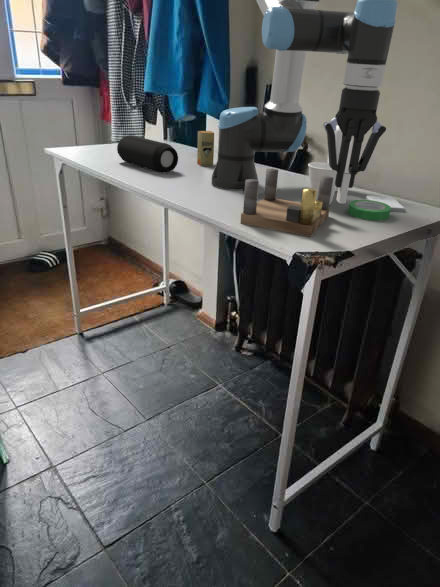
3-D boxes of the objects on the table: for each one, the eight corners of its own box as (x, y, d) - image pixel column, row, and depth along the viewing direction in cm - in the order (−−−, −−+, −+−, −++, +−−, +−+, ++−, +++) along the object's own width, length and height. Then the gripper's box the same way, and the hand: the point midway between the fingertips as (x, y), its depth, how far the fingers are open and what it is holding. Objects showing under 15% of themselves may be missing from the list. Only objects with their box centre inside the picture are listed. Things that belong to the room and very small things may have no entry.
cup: (313, 197, 137) (318, 160, 132) (343, 204, 131) (349, 166, 126) (296, 203, 130) (301, 164, 125) (327, 211, 125) (333, 171, 119)
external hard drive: (375, 212, 128) (365, 200, 139) (404, 213, 127) (392, 201, 138) (376, 206, 127) (366, 194, 138) (406, 208, 127) (393, 196, 138)
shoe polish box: (197, 163, 173) (197, 130, 168) (209, 163, 175) (210, 130, 169) (200, 166, 169) (201, 132, 164) (213, 166, 171) (214, 132, 165)
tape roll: (365, 222, 117) (367, 212, 116) (339, 210, 126) (341, 201, 125) (397, 218, 121) (400, 209, 120) (370, 207, 130) (372, 198, 129)
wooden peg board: (265, 205, 126) (268, 168, 122) (328, 216, 120) (334, 177, 115) (240, 223, 112) (243, 181, 107) (310, 236, 105) (317, 192, 101)
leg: (311, 211, 114) (315, 180, 110) (323, 213, 113) (328, 182, 109) (296, 222, 106) (301, 189, 102) (309, 224, 104) (314, 192, 101)
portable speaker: (180, 172, 159) (180, 143, 154) (158, 176, 153) (157, 146, 148) (137, 160, 175) (136, 133, 170) (115, 163, 168) (114, 135, 164)
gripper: (333, 87, 87) (315, 205, 98) (399, 91, 87) (374, 208, 99) (325, 84, 94) (309, 195, 105) (387, 88, 94) (364, 198, 105)
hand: (340, 201), depth 102 cm, fingers closed
